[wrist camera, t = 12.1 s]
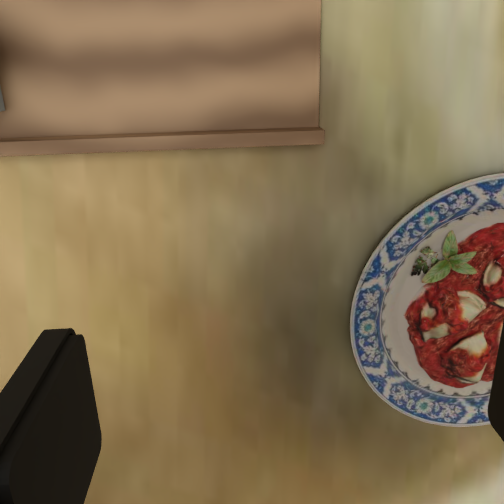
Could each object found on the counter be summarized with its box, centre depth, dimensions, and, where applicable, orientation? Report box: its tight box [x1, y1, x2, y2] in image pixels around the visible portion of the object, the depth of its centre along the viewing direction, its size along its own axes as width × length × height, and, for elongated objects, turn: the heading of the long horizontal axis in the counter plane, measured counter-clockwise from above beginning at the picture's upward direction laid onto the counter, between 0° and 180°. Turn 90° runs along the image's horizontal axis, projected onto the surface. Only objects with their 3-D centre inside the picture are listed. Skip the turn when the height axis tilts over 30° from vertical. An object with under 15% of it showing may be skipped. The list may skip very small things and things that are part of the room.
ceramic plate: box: [350, 173, 504, 427], centre depth 44 cm, size 26×26×3 cm
